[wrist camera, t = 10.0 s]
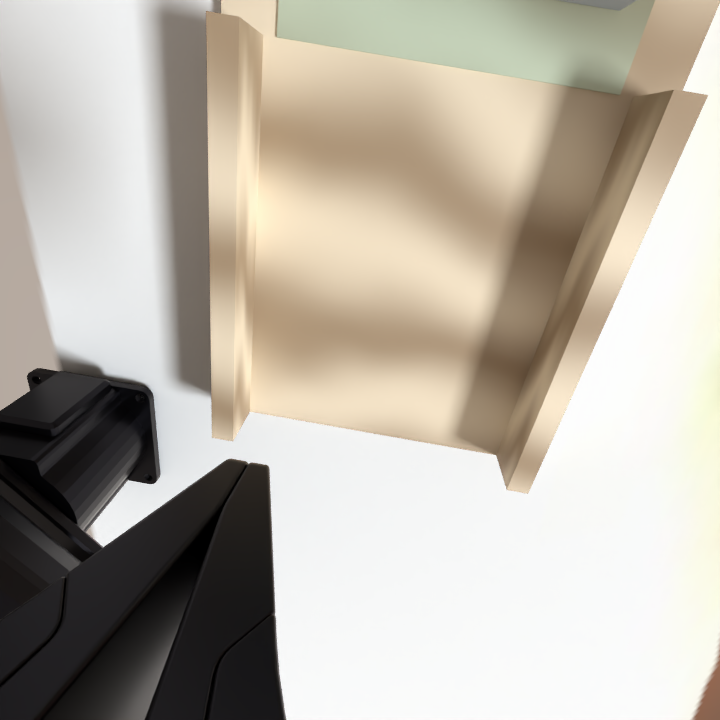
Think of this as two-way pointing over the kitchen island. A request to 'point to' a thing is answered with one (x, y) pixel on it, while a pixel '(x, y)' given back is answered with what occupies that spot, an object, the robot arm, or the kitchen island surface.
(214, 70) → the beige wooden tray
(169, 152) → the kitchen island surface
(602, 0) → the slate block
